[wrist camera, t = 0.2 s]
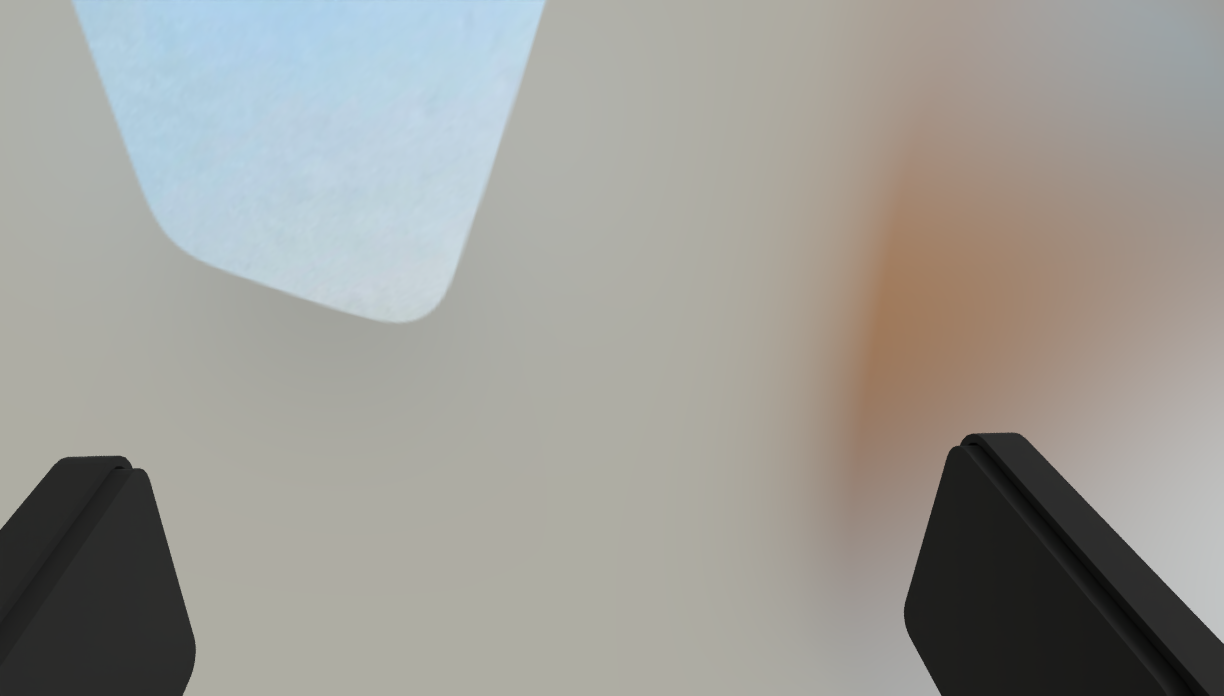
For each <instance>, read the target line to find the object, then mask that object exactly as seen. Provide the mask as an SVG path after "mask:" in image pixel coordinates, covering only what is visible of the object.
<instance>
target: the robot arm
mask: <svg viewBox="0 0 1224 696" xmlns="http://www.w3.org/2000/svg"><path fill="white" fill-rule="evenodd" d="M904 619H905V625H906V628H907V631H908V634H909V636H910V638H911V640H912V642H913V644H914V646H915V647H916V649H917V651H918V653H919V655H920V657H921V659H922V660H923V662H924V664H925V666H926V668H927V670H928V672H929V673H930V675H931V677H932V679H933V681H934V683H935V684H936V686H937V688H938V690H939V692H940V694H941V696H1224V644H1223V643H1222V642H1221V641H1220V640H1219V639H1218V638H1217V637H1216V636H1215V635H1214V634H1213V633H1212V632H1211V630H1210V629H1209V628H1208V627H1207V626H1206V625H1205V624H1204V623H1203V622H1202V621H1201V620H1200V619H1199V618H1198V617H1197V616H1196V615H1195V614H1194V613H1193V612H1192V611H1191V610H1190V609H1189V608H1188V607H1187V606H1186V604H1185V603H1184V602H1183V601H1182V600H1181V599H1180V598H1179V597H1178V596H1177V595H1176V594H1175V593H1174V592H1173V591H1172V590H1171V589H1170V588H1169V587H1168V586H1167V585H1166V584H1165V583H1164V582H1163V581H1162V580H1161V579H1160V577H1159V576H1158V575H1157V574H1156V573H1155V572H1154V571H1153V570H1152V569H1151V568H1150V567H1149V566H1148V565H1147V564H1146V563H1145V562H1144V561H1143V560H1142V559H1141V558H1140V557H1139V556H1138V555H1137V554H1136V553H1135V551H1134V550H1133V549H1132V548H1131V547H1130V546H1129V545H1128V544H1127V543H1126V542H1125V541H1124V540H1123V539H1122V538H1121V537H1120V536H1119V535H1118V534H1117V533H1116V532H1115V531H1114V530H1113V529H1112V528H1111V527H1110V526H1109V524H1107V522H1106V521H1105V520H1104V519H1103V518H1102V517H1101V516H1100V515H1099V514H1098V513H1097V512H1096V511H1095V510H1094V509H1093V508H1092V507H1091V506H1090V505H1089V504H1088V503H1087V502H1086V501H1085V500H1084V499H1083V498H1082V496H1081V495H1079V494H1078V492H1077V491H1076V490H1075V489H1074V488H1073V487H1072V486H1071V485H1070V484H1069V483H1068V482H1067V481H1066V480H1065V479H1064V478H1063V477H1062V476H1061V475H1060V474H1059V473H1058V472H1057V470H1056V469H1055V468H1054V467H1053V466H1051V464H1050V463H1049V462H1048V461H1047V460H1046V459H1045V458H1044V457H1043V456H1042V455H1041V454H1040V453H1039V452H1038V451H1037V450H1036V449H1035V448H1034V447H1033V446H1032V445H1031V443H1029V441H1028V440H1027V439H1025V438H1024V437H1023V436H1022V435H1020V434H1017V433H981V434H980V433H978V434H970V435H967V436H966V437H965V438H964V439H963V440H962V442H961V444H960V446H955V447H953V448H952V449H951V450H950V451H949V454H948V456H947V460H946V463H945V466H944V470H943V473H942V477H941V480H940V484H939V487H938V490H937V494H936V498H935V501H934V505H933V508H932V511H931V515H930V518H929V522H928V525H927V529H926V532H925V536H924V539H923V543H922V546H921V550H920V553H919V556H918V560H917V564H916V567H915V570H914V574H913V577H912V581H911V585H910V588H909V592H908V595H907V598H906V602H905V607H904ZM195 654H196V646H195V639H194V635H193V632H192V628H191V625H190V621H189V618H188V614H187V610H186V607H185V603H184V600H183V596H182V593H181V589H180V586H179V582H178V579H177V575H176V572H175V568H174V564H173V561H172V557H171V554H170V550H169V547H168V543H167V540H166V536H165V533H164V529H163V525H162V522H161V518H160V515H159V512H158V508H157V504H156V501H155V497H154V494H153V490H152V487H151V483H150V480H149V477H148V475H147V473H146V472H145V471H144V470H143V469H140V468H134V469H133V468H132V466H131V464H130V462H129V461H128V460H127V459H126V458H125V457H122V456H88V457H66V458H63V459H61V460H60V461H58V462H57V463H56V464H55V465H54V466H53V467H52V468H51V470H50V471H49V472H48V473H47V474H46V476H45V477H44V478H43V479H42V480H41V482H40V483H39V484H38V485H37V486H36V488H35V489H34V490H33V491H32V492H31V494H30V495H29V496H28V497H27V498H26V500H25V501H24V502H23V503H22V504H21V506H20V507H19V508H18V509H17V510H16V512H15V513H14V514H13V515H12V517H11V518H10V519H9V520H8V522H7V523H6V524H5V525H4V526H3V527H2V529H1V530H0V696H183V693H184V691H185V689H186V686H187V684H188V682H189V679H190V677H191V674H192V671H193V667H194V663H195Z"/></svg>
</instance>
